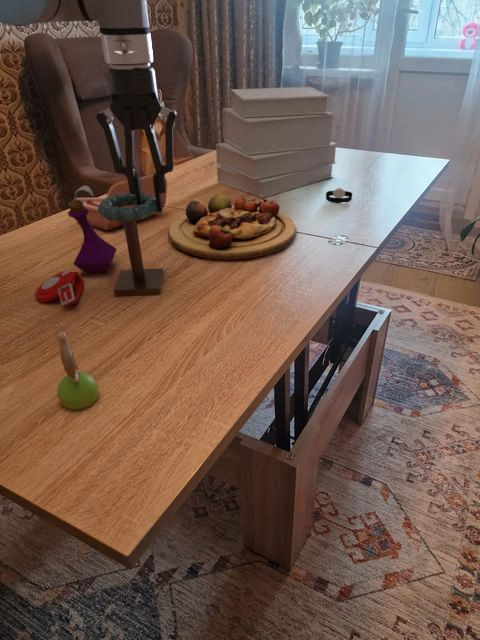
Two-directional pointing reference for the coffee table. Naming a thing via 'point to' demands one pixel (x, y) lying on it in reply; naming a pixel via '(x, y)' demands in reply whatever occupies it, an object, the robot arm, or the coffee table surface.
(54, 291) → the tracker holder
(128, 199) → the ring
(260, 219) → the wooden plate
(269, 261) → the coffee table surface
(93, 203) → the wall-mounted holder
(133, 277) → the rack
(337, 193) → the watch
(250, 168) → the book stack
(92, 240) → the perfume bottle
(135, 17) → the robot arm
